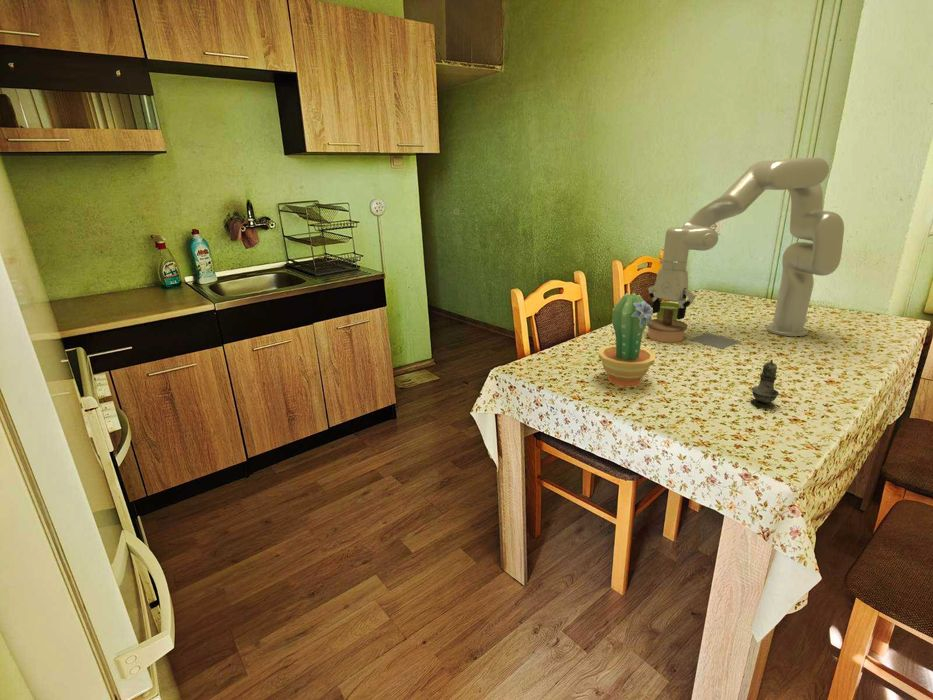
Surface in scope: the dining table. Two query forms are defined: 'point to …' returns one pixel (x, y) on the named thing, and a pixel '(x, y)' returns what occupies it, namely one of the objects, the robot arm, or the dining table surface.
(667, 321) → the lid
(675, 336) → the bowl
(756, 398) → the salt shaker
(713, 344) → the mat
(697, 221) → the robot arm
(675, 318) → the plant pot
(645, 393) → the dining table surface
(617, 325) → the potted cactus
